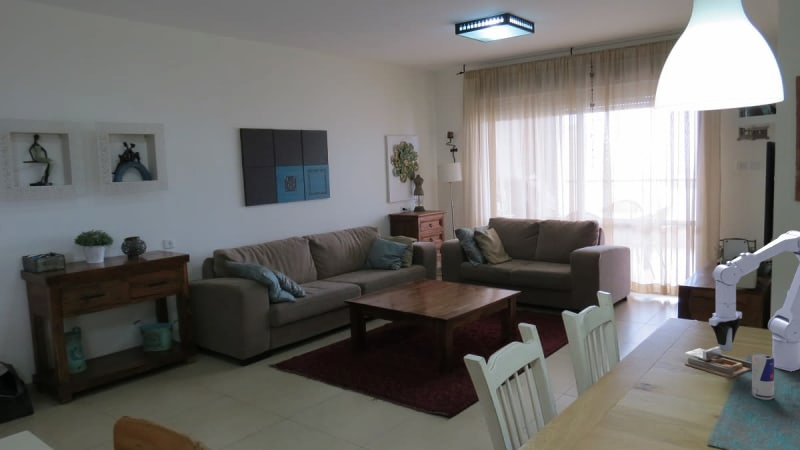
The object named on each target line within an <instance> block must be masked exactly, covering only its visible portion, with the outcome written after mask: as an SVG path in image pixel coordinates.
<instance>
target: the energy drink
mask: <svg viewBox="0 0 800 450" xmlns="http://www.w3.org/2000/svg"><path fill="white" fill-rule="evenodd" d="M751 362H752V370H751V395H752V396H753V397H754V398H756V399H759V400H763V401H770V400H772V399H774V398H775V367H774V358H773V356H772V355H771V354H769V353H764V352H759V353H758V352H757V353H753V355H752V357H751Z"/></svg>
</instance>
